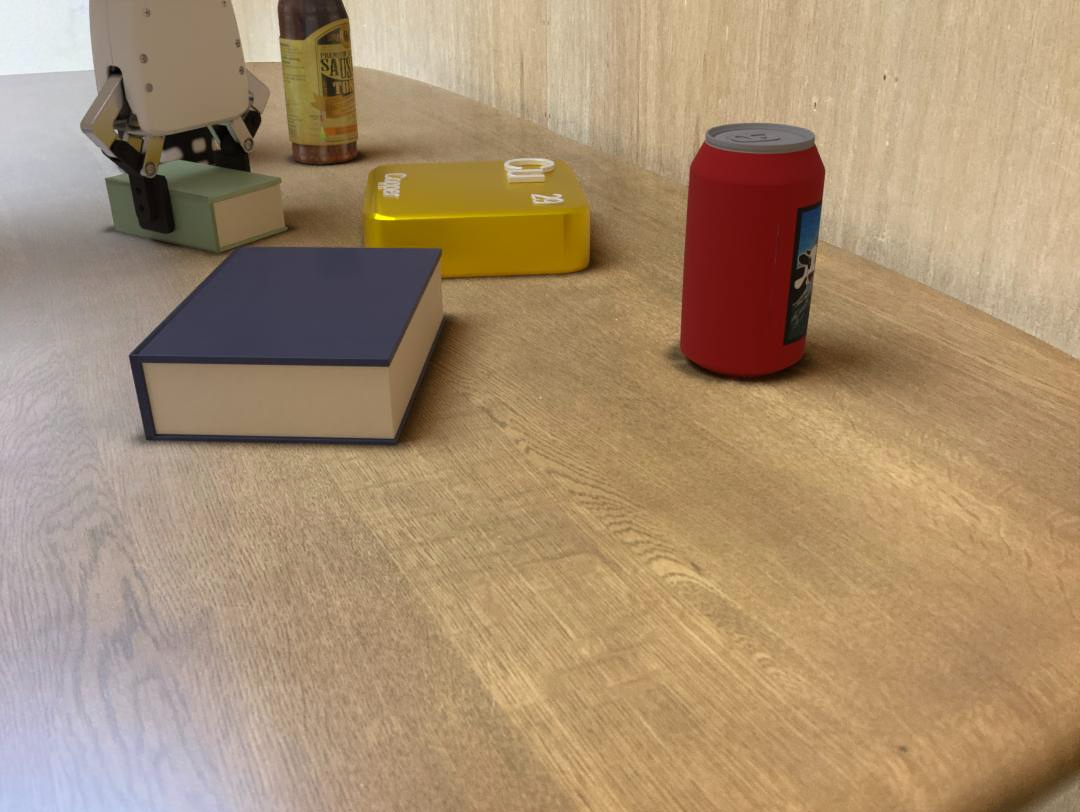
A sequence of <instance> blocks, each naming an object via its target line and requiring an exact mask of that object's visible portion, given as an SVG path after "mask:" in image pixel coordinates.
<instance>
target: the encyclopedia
mask: <svg viewBox="0 0 1080 812" xmlns="http://www.w3.org/2000/svg"><path fill="white" fill-rule="evenodd" d="M441 256H442V249H441V248H365V247H348V246H347V247H346V246H345V247H341V246H338V247H333V246H332V247H331V246H328V247H327V246H312V247H311V246H244V245H240V246H237V247H235V248H234V249H233V250H232V251H231V252H230V254H229V255H227V256H226V257H225V258H224V260H222V261H221V262H220V263H219V265H217V267H215V268H214V269H213V270H212V271H211V272H210V273H209V274H208V275H207V276H206V277H205V278H204V279H203V280H202V281H201V282H200V283H199V284H198V285H197V286H196V287H195V288H194V289H193V290H192V291H191V292H190V293H189V294H188V295H187V296H186V297H185V298H184V299H183V300H182V301H181V302H180V303H179V304H178V305H177V306H176V307H175V308H174V309H173V310H171V312H170V313H169V314H168V315H167V316H166V317H165V318H164V319H163V320H162V321H161V322H160V323H159V324H158V325H157V326H156V327H155V328H154V329H153V330H152V331H151V332H150V333H148V335H147V336H146V337H145V338H144V339H143V340H142V341H141V342H140V343H139V344H138V345H137V346H136V347H135V348H134V349H133V350H132V351H131V352H130V353H129V354H128V360H129V364H130V369H131V374H132V379H133V383H134V388H135V393H136V398H137V402H138V403H137V404H138V407H139V412H140V417H141V422H142V427H143V428H142V429H143V431H144V436H145V441H163V442H164V441H165V442H166V441H167V442H168V441H169V442H213V443H215V442H216V443H258V444H259V443H261V444H262V443H267V444H269V443H270V444H305V445H306V444H309V445H356V446H357V445H359V446H361V445H362V446H364V445H365V446H397V444H398V441H399V440H400V437H401V434H402V432H403V430H404V426H405V424H406V421H407V419H408V416H409V414H410V411H411V409H412V406H413V403H414V402H415V398H416V396H417V393H418V391H419V389H420V386H421V383H422V381H423V379H424V376H425V373H426V371H427V368H428V366H429V363H430V362H431V358H432V356H433V353H434V351H435V349H436V346H437V343H438V340H439V338H440V335H441V333H442V330H443V328H444V327H445V326H444V325H445V323H446V321H447V319H446V316H444V303H443V285H442V278H441V266H440V258H441Z"/></svg>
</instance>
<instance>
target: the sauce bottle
mask: <svg viewBox="0 0 1080 812" xmlns="http://www.w3.org/2000/svg"><path fill="white" fill-rule="evenodd" d="M276 7H277V11H276V12H277V19H278V29H279V36H278V40H279V50H280V62H281V72H282V83H283V91H284V100H285V101H284V102H285V110H286V112H285V113H286V120H287V121H286V122H287V130H288V139H289V140H288V141H289V142H291V151H292V152H291V153H292V157H293V159H294V161H295V162H296V163H300V164H302V165H303V164H304V165H316V166H317V165H318V166H324V165H334V164H341V163H347V162H350V161H353V160H354V159H355V158H356V157H357V154H358V140H359V130H358V118H357V115H358V114H357V105H356V92H355V91H356V89H355V78H354V63H353V52H352V38H351V25H350V24H351V23H350V17H349V15H348V13H347V10H346V9H347V8H346V7H345V5H344V2H343V0H278V1H277V6H276Z"/></svg>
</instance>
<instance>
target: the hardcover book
mask: <svg viewBox="0 0 1080 812" xmlns="http://www.w3.org/2000/svg"><path fill="white" fill-rule="evenodd" d="M157 174H158V175H163V176H165V178H166V179H167V183H168V189H169V195H170V201H171V207H172V212H173V218H174V224H175V229H174V231H173V232H172V233H168V234H164V233H159V232H155V231H150V230H146V229H142V228H141V227H140V225H139V221H138V218H137V216H136V212H135V207H134V202H133V197H132V191H131V186H130V181H129V176H128V174H126V173H120V174H115V175H113V176H108V177H105V178H104V182H105V186H106V191H107V196H108V203H109V205H110V211H111V216H112V222H113V226H114V231H116V232H121V233H125V234H130V235H134V236H139V237H143V238H148V239H152V240H155V241H159V242H160V241H161V242H165V243H169V244H174V245H178V246H183V247H187V248H191V249H196V250H200V251H203V252H209V253H213V254H219V253H222V252H226V251H228V250H231V249H235V248H237V247H239V246H244V245H246V244H249V243H252V242H255V241H259V240H260V239H264V238H268V237H270V236H273V235H276V234H279V233H282V232H285V231H288V226H286V222H285V215H284V214H285V213H284V206H283V198H282V190H281V184H282V183H283V181H282V177H279V176H274V175H267V174H261V173H257V172H252V171H251V172H246V171H240V170H234V169H228V168H223V167H217V166H215V165H212V164H211V165H206V164H200V163H194V162H188V161H183V160H177V161H173V162H169V163H165V164H161V165H159V167H158V172H157Z"/></svg>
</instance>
